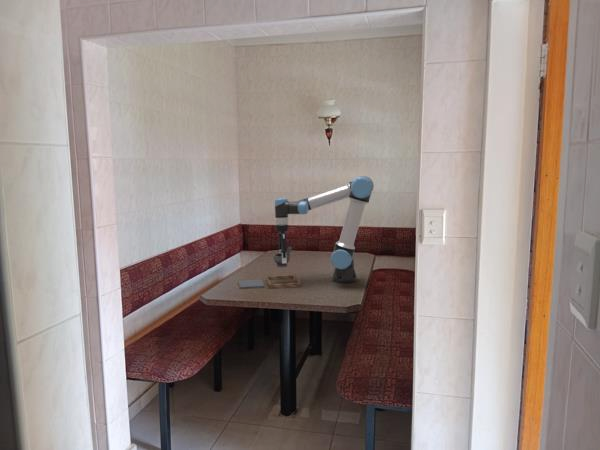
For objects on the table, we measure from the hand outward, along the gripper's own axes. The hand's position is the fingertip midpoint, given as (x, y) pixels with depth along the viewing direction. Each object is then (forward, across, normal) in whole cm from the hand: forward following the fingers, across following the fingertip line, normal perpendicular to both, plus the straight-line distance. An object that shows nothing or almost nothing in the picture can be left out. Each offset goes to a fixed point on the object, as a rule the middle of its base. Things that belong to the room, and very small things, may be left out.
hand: (283, 261), depth 275 cm
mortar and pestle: (+3, 0, 0) cm, 3 cm away
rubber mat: (+13, 0, -20) cm, 23 cm away
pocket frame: (+13, 0, -1) cm, 13 cm away
